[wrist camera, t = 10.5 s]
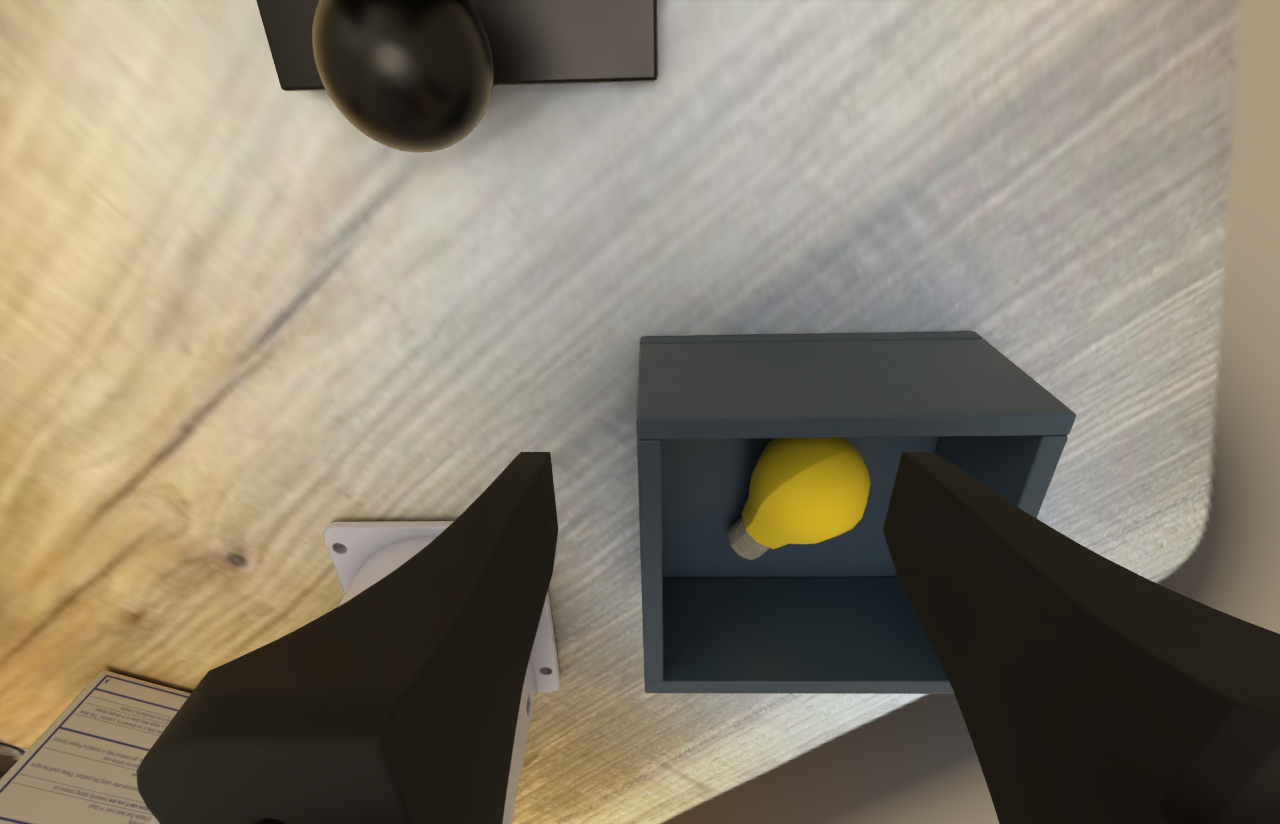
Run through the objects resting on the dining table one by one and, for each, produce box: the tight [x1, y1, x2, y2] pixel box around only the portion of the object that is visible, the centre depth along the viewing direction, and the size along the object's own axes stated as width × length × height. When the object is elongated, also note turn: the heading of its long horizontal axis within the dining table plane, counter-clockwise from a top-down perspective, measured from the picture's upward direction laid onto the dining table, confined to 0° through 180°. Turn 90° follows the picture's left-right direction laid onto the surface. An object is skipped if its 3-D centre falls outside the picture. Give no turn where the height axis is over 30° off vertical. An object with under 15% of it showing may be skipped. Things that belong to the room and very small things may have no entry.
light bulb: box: [728, 437, 871, 560], centre depth 19 cm, size 3×6×4 cm, turn 155°
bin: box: [636, 332, 1076, 694], centre depth 19 cm, size 10×10×5 cm
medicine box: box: [0, 670, 191, 824], centre depth 25 cm, size 8×4×9 cm, turn 64°
